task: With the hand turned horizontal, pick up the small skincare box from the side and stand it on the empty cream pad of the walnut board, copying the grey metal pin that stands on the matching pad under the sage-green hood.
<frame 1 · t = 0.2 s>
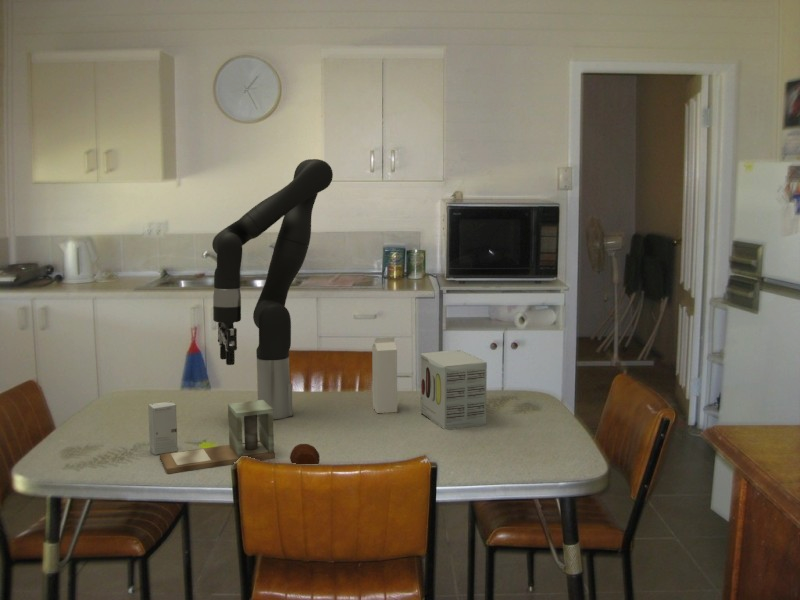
hand: (227, 361, 230), 17 cm above the table, tool pointing down, fingers open, 8 cm apart
skincare box: (164, 451, 209), on the table
supplement box: (452, 419, 235), on the table
potato: (304, 470, 195), on the table
board: (217, 458, 203), on the table
milk: (384, 411, 244), on the table
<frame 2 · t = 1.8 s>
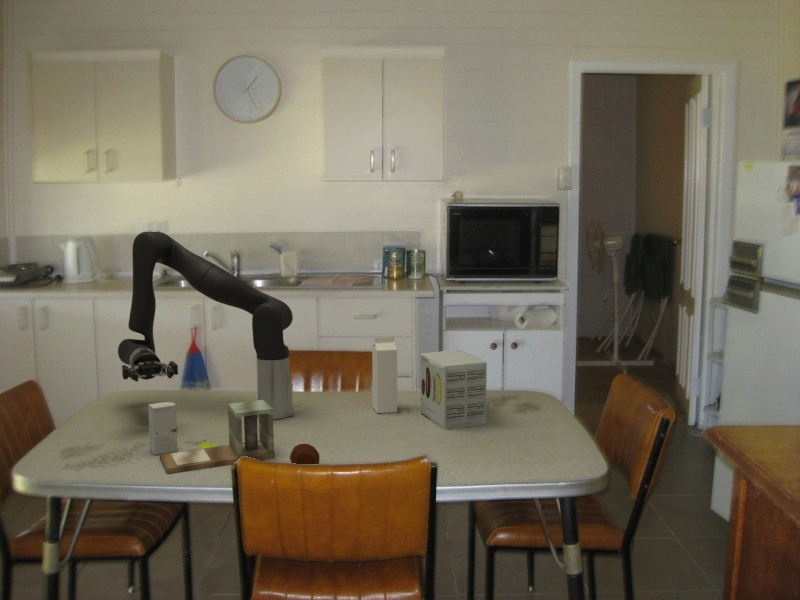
hand: (153, 376, 216), 17 cm above the table, tool horizontal, fingers open, 8 cm apart
nothing on the table moved.
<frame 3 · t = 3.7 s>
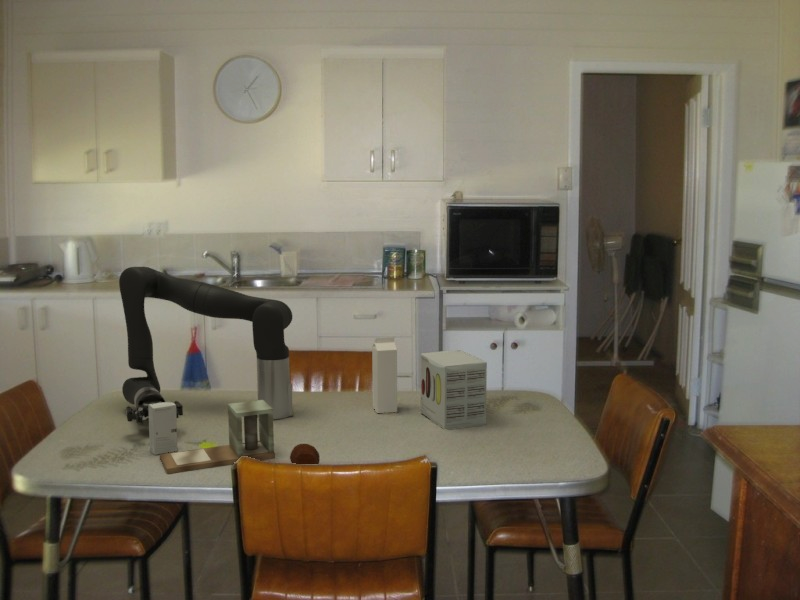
hand: (158, 418, 214), 7 cm above the table, tool horizontal, fingers open, 8 cm apart
nothing on the table moved.
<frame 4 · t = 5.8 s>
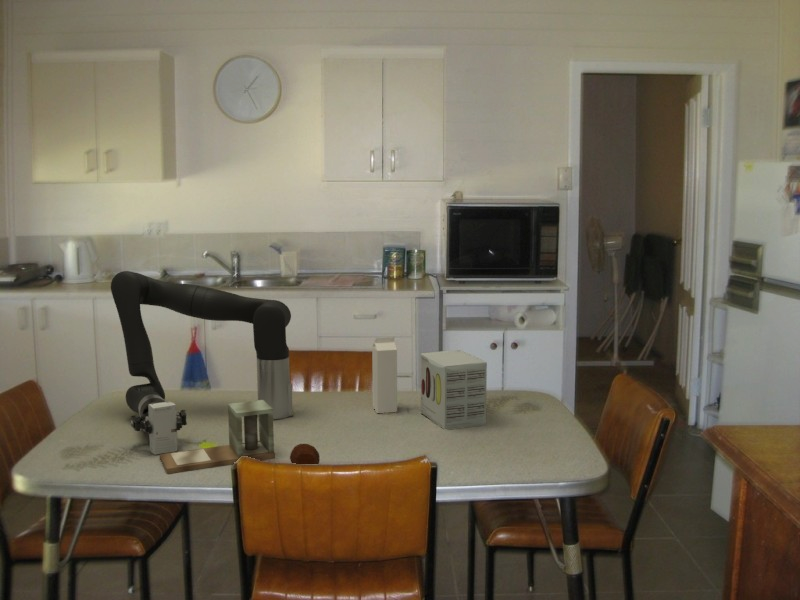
hand: (164, 428, 206), 7 cm above the table, tool horizontal, fingers closed on skincare box, 6 cm apart
skincare box: (164, 451, 209), on the table, touching gripper
everything else where it was.
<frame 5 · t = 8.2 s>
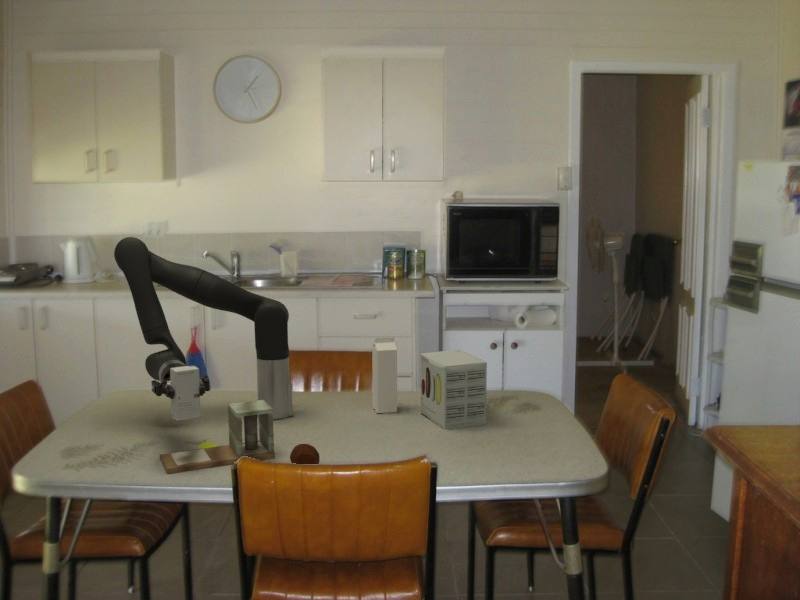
hand: (187, 393, 196), 18 cm above the table, tool horizontal, fingers closed on skincare box, 6 cm apart
skincare box: (186, 417, 199), point 11 cm above the table, touching gripper
everything else where it was.
when the fingers open (9 cm above the table, at t = 10.9 s): skincare box stays where it is, resting on board.
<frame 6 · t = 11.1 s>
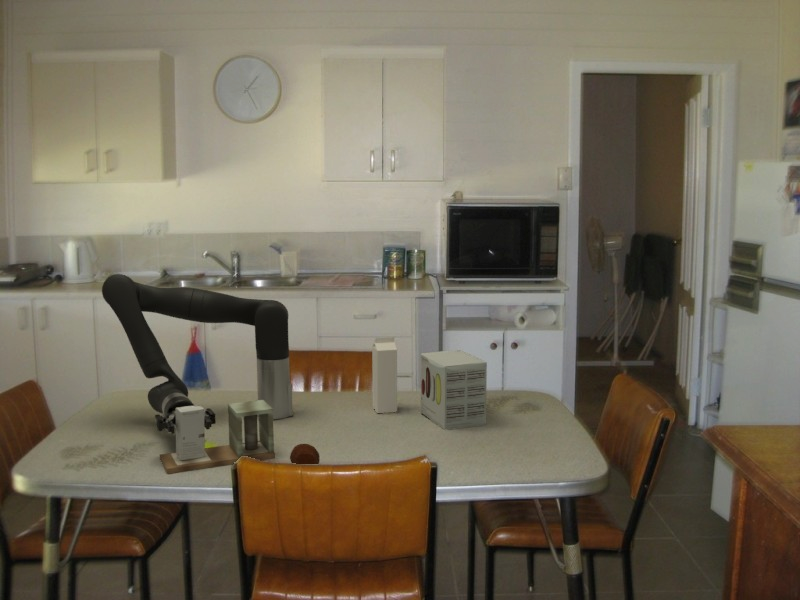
hand: (191, 427, 197), 9 cm above the table, tool horizontal, fingers open, 8 cm apart
skincare box: (190, 457, 200), point 1 cm above the table, touching board
everything else where it was.
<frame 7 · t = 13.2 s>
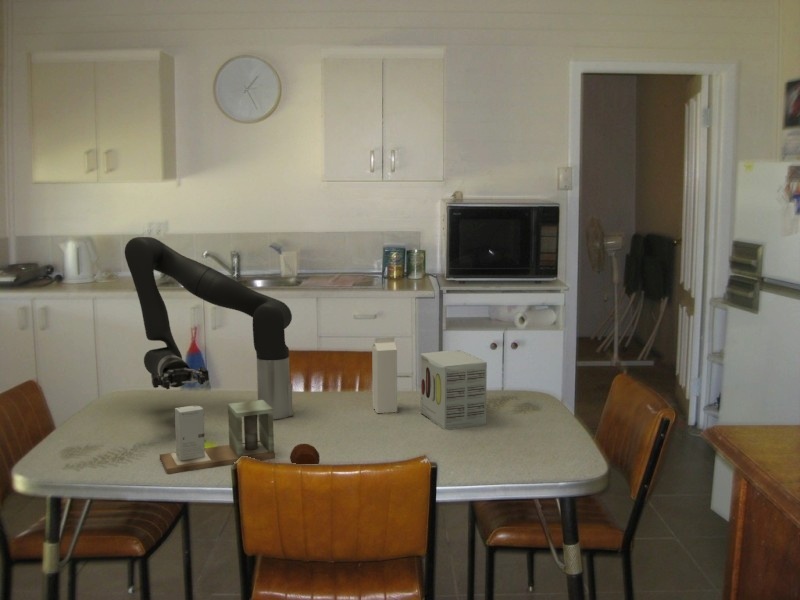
hand: (185, 382, 211), 16 cm above the table, tool horizontal, fingers open, 8 cm apart
nothing on the table moved.
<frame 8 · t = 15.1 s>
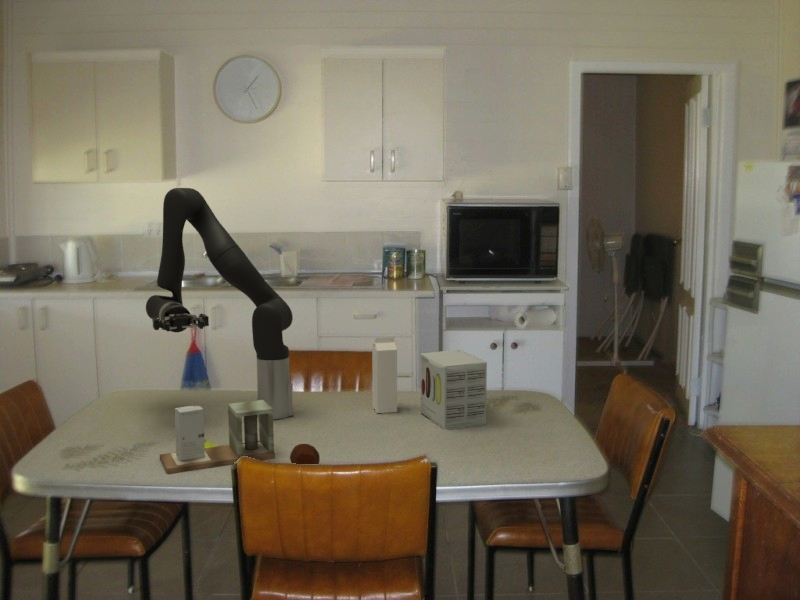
hand: (185, 326, 215), 30 cm above the table, tool horizontal, fingers open, 8 cm apart
nothing on the table moved.
at the end: skincare box inside the target area on the board (0.1 cm from its centre), point 1.2 cm above the board's base; skincare box tilted 0°; the gripper is holding nothing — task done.
